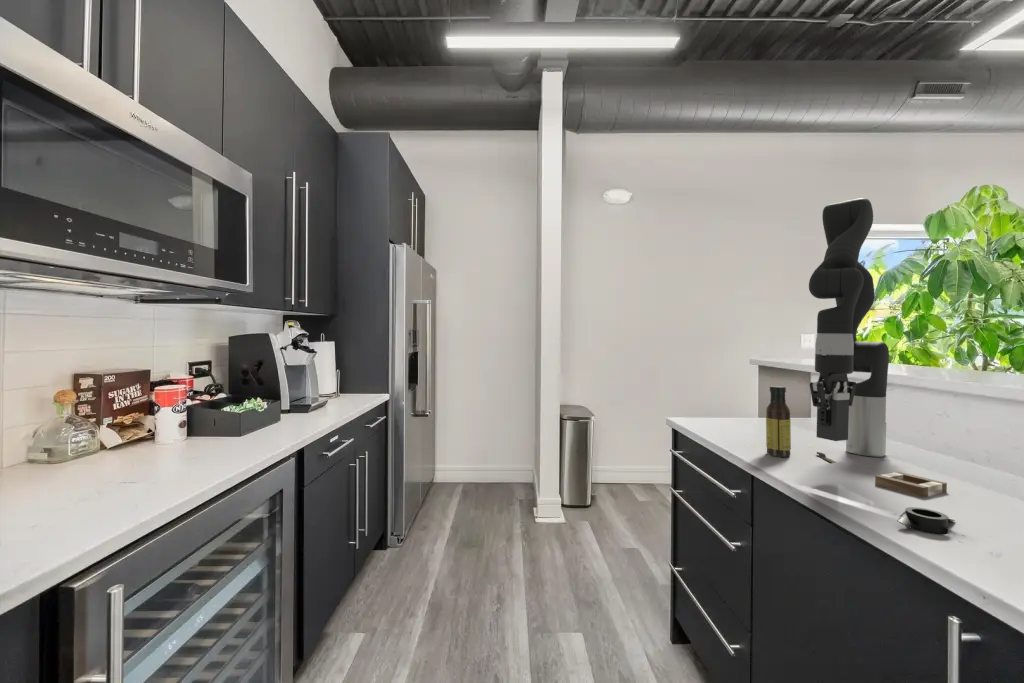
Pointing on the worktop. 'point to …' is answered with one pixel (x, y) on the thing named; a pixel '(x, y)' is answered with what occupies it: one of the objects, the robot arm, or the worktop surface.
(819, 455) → the tomahawk
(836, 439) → the dark grey upright block
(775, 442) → the sauce bottle
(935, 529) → the duct tape
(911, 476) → the wooden rectangular frame
